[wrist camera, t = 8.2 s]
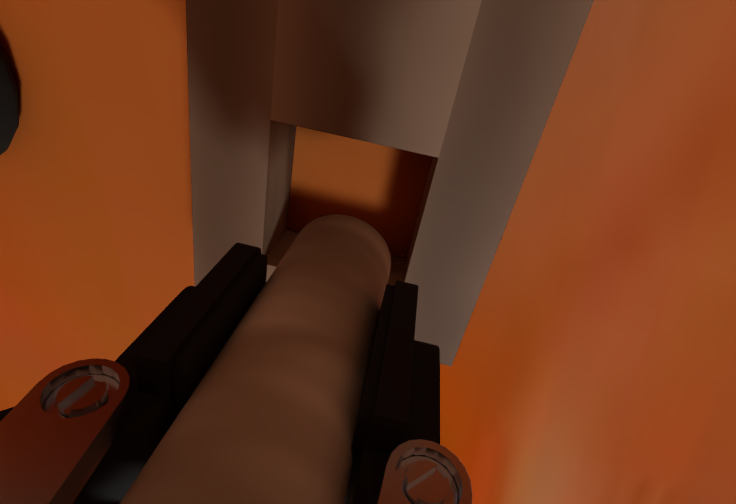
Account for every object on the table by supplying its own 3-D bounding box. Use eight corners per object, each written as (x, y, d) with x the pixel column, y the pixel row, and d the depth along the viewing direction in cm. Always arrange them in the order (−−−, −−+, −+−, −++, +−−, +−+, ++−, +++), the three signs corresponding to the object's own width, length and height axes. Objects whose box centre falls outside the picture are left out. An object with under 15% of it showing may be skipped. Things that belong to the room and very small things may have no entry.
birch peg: (400, 227, 12) (296, 791, 3) (380, 310, 13) (270, 846, 5) (298, 203, 12) (-75, 683, 3) (289, 288, 13) (17, 773, 5)
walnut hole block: (710, -401, 9) (813, -564, 7) (449, 321, 20) (451, 366, 17) (238, -477, 10) (165, -657, 7) (226, 266, 20) (195, 302, 18)
